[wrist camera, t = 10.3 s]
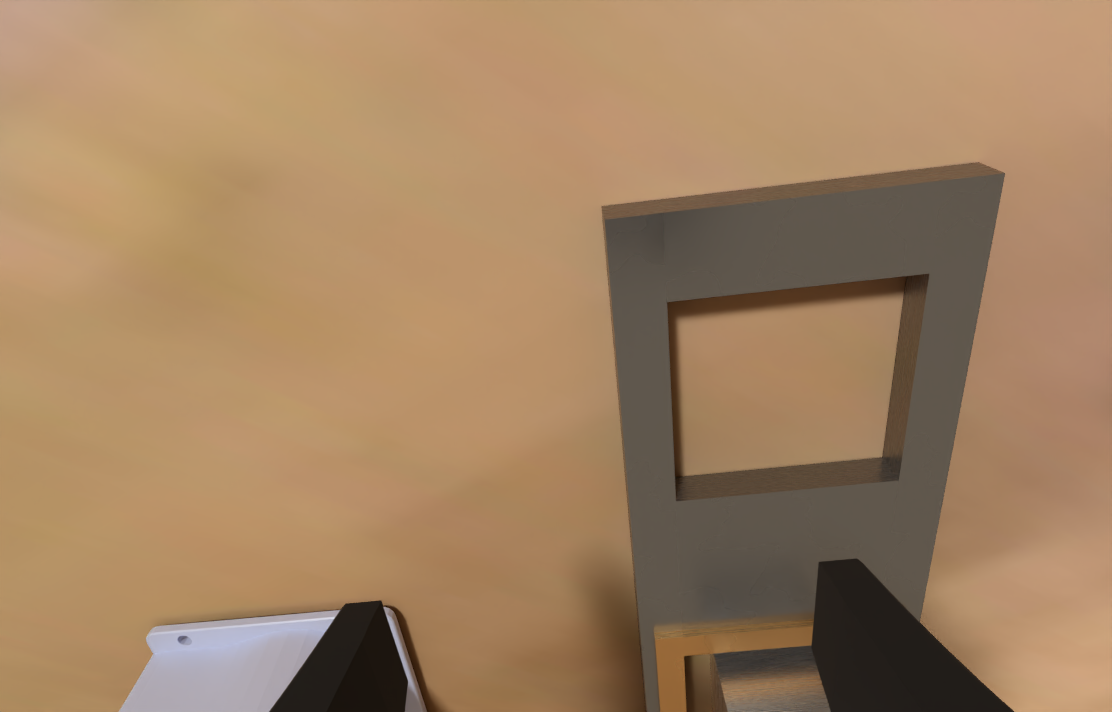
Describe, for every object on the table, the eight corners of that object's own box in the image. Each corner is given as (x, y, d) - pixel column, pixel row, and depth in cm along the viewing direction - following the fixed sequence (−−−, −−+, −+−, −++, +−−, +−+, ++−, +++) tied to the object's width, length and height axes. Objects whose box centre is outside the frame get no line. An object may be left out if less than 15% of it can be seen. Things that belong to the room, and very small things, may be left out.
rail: (651, 771, 31) (655, 806, 30) (601, 206, 19) (605, 222, 17) (877, 754, 30) (892, 789, 29) (978, 162, 18) (1012, 176, 17)
